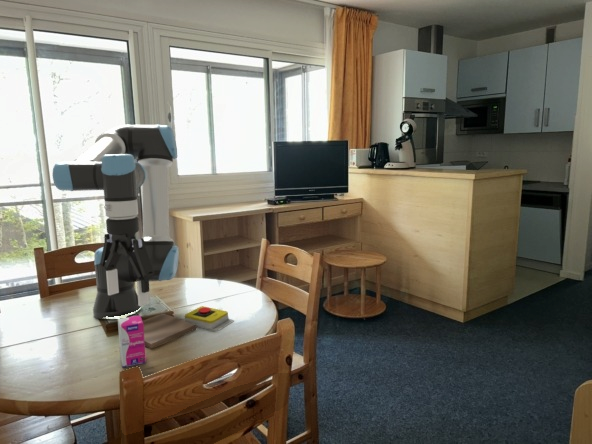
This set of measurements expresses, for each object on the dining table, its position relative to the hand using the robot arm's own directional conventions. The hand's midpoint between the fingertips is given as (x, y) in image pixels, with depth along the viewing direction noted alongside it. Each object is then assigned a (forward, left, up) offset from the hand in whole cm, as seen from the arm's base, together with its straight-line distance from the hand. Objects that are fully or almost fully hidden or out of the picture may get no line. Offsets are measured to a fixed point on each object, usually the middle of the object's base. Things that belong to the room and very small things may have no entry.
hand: (128, 299), depth 110 cm
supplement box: (0, 0, -18) cm, 18 cm away
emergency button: (-4, +30, -18) cm, 35 cm away
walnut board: (-10, +15, -17) cm, 25 cm away
